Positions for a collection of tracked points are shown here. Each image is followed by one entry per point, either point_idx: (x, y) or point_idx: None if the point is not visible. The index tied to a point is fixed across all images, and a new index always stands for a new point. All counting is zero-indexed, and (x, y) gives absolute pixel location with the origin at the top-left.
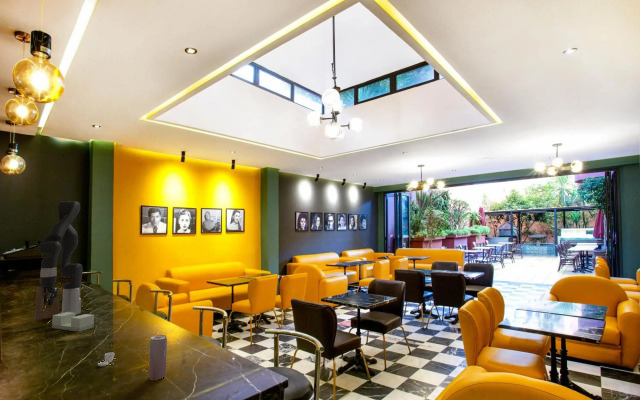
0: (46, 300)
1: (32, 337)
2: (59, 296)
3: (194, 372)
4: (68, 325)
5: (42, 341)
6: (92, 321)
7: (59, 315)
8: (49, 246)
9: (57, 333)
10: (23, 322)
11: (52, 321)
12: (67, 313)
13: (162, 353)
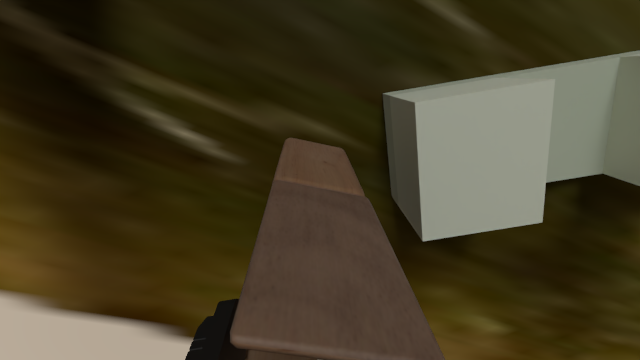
0: (225, 342)
1: (486, 322)
2: (399, 267)
3: None
4: (553, 164)
5: (607, 323)
6: None
7: (491, 214)
8: None
9: (554, 233)
10: (27, 227)
11: (406, 215)
12: (488, 136)
13: None
